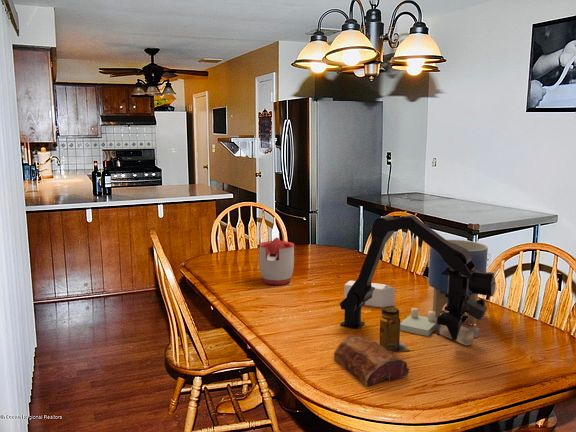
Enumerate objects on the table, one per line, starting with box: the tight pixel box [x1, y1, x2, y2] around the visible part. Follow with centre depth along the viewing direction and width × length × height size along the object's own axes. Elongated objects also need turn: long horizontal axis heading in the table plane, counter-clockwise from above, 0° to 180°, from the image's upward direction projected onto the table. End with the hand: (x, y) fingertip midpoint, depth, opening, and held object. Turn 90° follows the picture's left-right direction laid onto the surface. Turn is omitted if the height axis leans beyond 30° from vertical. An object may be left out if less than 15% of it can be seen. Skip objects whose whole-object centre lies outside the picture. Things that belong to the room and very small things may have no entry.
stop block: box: [462, 324, 480, 339], centre depth 168 cm, size 3×5×2 cm, turn 57°
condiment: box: [376, 306, 410, 353], centre depth 157 cm, size 7×8×12 cm
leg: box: [434, 318, 474, 347], centre depth 165 cm, size 14×4×4 cm, turn 29°
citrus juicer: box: [258, 237, 295, 286], centre depth 227 cm, size 16×17×20 cm
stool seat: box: [400, 307, 436, 337], centre depth 174 cm, size 12×10×5 cm
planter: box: [427, 239, 489, 326], centre depth 183 cm, size 19×19×26 cm
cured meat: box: [333, 335, 410, 388], centre depth 147 cm, size 18×25×7 cm
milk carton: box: [343, 279, 396, 308], centre depth 200 cm, size 7×7×19 cm
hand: (454, 339), depth 158 cm, fingers closed
